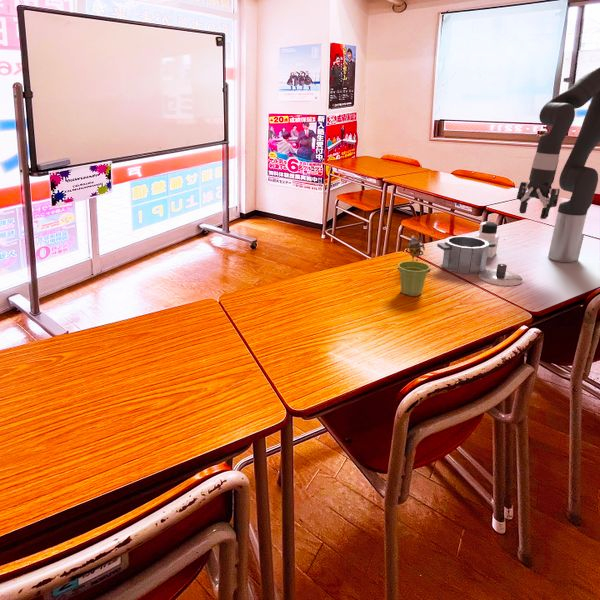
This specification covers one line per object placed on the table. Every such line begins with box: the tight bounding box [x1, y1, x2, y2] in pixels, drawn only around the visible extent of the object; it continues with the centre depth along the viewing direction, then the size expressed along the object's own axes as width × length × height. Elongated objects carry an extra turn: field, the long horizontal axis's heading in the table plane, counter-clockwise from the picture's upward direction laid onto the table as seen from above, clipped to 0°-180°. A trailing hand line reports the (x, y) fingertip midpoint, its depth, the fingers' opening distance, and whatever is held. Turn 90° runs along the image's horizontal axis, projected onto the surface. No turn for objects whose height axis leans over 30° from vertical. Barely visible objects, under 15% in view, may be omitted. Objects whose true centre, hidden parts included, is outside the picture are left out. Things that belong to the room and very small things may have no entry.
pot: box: [436, 235, 496, 275], centre depth 176 cm, size 19×14×9 cm
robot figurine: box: [404, 235, 431, 273], centre depth 172 cm, size 11×9×12 cm
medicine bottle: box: [474, 221, 500, 259], centre depth 188 cm, size 7×7×12 cm
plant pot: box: [397, 260, 431, 297], centre depth 154 cm, size 9×9×9 cm
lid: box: [478, 263, 523, 287], centre depth 166 cm, size 14×14×5 cm
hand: (532, 215), depth 173 cm, fingers open, 8 cm apart
